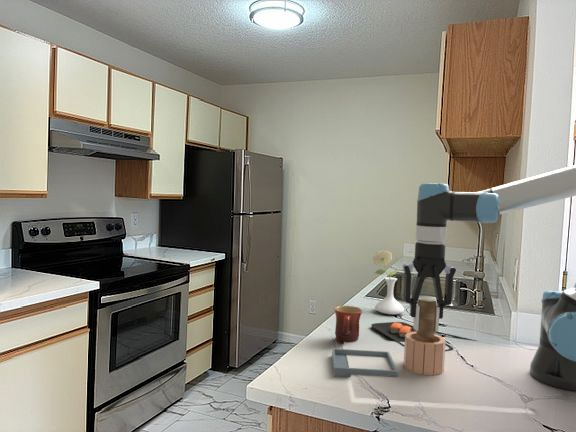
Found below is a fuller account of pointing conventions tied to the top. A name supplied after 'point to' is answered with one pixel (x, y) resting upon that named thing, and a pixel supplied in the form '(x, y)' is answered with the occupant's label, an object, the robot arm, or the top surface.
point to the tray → (343, 368)
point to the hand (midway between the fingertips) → (425, 329)
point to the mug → (347, 323)
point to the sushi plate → (402, 331)
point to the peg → (426, 320)
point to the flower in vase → (388, 302)
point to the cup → (424, 355)
